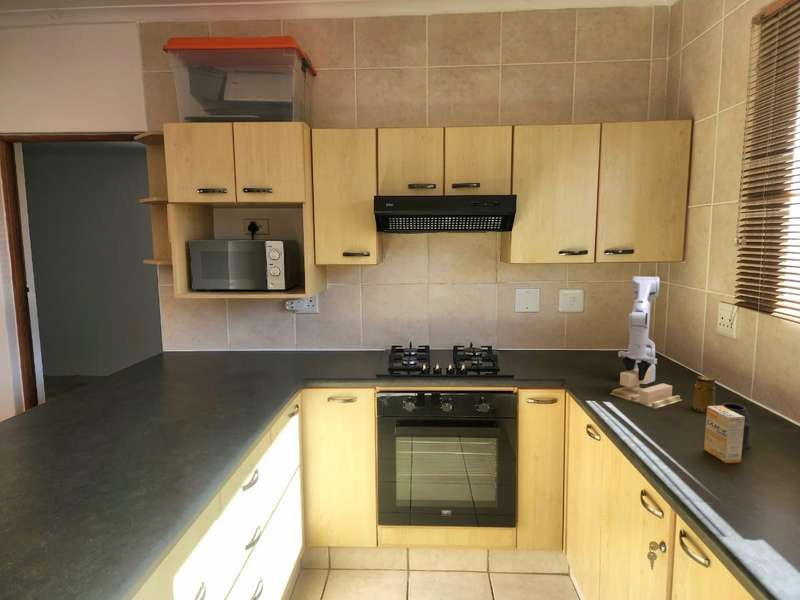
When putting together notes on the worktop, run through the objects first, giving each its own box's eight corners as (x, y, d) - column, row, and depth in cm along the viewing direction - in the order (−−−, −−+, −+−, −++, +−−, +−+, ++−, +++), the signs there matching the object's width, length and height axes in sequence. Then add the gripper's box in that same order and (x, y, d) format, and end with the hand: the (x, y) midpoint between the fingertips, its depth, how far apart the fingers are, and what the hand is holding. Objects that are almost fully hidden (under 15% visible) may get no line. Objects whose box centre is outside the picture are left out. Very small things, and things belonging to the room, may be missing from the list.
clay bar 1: (642, 378, 183) (642, 367, 183) (651, 380, 180) (651, 369, 180) (619, 384, 176) (620, 372, 176) (628, 387, 173) (629, 375, 172)
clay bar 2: (662, 394, 177) (663, 383, 176) (671, 397, 174) (672, 385, 173) (638, 401, 170) (639, 389, 170) (648, 404, 167) (648, 392, 166)
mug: (707, 435, 143) (709, 400, 141) (741, 437, 141) (744, 401, 139) (725, 453, 131) (728, 414, 130) (762, 455, 129) (765, 416, 128)
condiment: (700, 407, 166) (702, 374, 165) (725, 414, 159) (727, 380, 157) (686, 410, 163) (688, 377, 161) (712, 418, 155) (714, 383, 154)
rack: (636, 388, 187) (636, 382, 187) (682, 402, 171) (682, 396, 171) (609, 395, 180) (609, 389, 179) (655, 410, 164) (655, 404, 163)
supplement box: (702, 450, 134) (705, 405, 132) (718, 449, 134) (721, 404, 132) (725, 463, 125) (728, 416, 124) (742, 462, 126) (745, 415, 124)
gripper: (613, 341, 181) (612, 375, 182) (649, 348, 168) (647, 385, 170) (625, 339, 184) (624, 372, 186) (661, 346, 171) (659, 382, 173)
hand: (636, 378), depth 178 cm, fingers closed on clay bar 1, 4 cm apart
